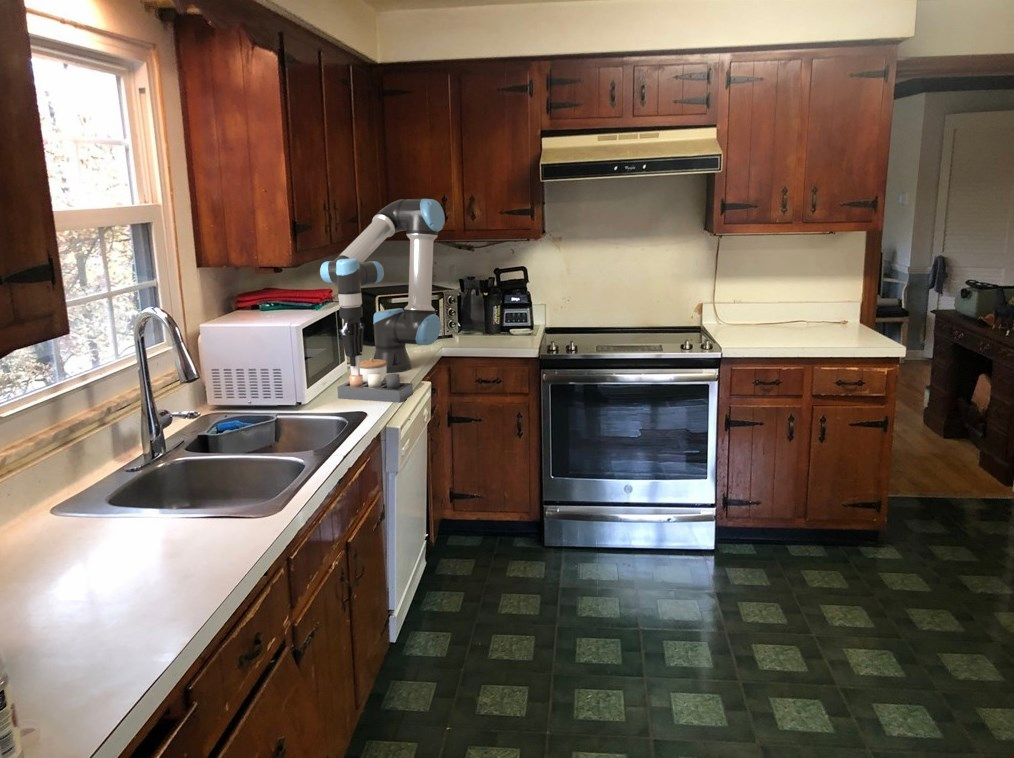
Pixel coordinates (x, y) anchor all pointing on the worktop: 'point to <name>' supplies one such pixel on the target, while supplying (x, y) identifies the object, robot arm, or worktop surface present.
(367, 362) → the lidded jar
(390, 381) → the grey cup
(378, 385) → the cream cup
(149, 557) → the worktop surface
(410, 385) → the dark grey tray
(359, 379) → the pink rounded cylinder
